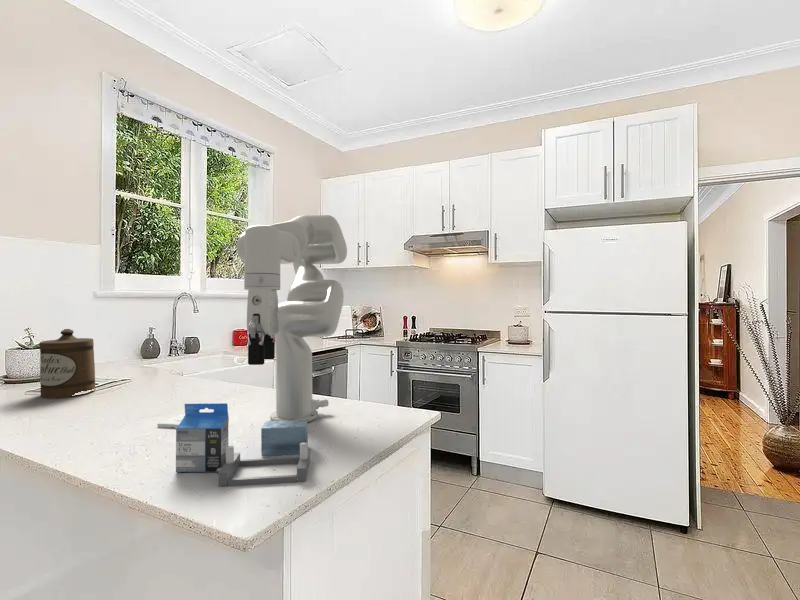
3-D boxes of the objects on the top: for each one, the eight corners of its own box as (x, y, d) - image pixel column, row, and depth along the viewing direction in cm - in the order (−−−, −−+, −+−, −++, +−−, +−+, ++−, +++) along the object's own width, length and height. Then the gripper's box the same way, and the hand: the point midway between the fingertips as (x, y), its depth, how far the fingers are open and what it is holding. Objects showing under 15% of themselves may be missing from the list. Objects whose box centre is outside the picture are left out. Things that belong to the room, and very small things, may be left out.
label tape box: (174, 473, 82) (173, 408, 82) (185, 464, 86) (184, 403, 86) (221, 473, 82) (220, 408, 82) (229, 464, 86) (229, 402, 86)
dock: (232, 465, 86) (232, 438, 86) (309, 461, 88) (309, 435, 88) (218, 486, 76) (218, 457, 76) (305, 481, 78) (305, 452, 78)
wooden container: (28, 397, 142) (27, 330, 142) (69, 388, 157) (68, 327, 157) (67, 399, 140) (66, 331, 140) (105, 389, 155) (104, 327, 154)
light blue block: (265, 448, 95) (264, 421, 95) (307, 446, 97) (307, 419, 96) (260, 457, 90) (260, 428, 90) (305, 455, 92) (305, 426, 91)
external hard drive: (216, 417, 121) (185, 431, 109) (189, 415, 123) (157, 429, 111) (215, 411, 121) (185, 424, 109) (189, 410, 123) (157, 422, 111)
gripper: (271, 280, 87) (270, 366, 86) (287, 285, 104) (287, 357, 104) (232, 280, 86) (231, 367, 86) (255, 285, 103) (254, 357, 103)
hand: (262, 361), depth 95 cm, fingers open, 9 cm apart
